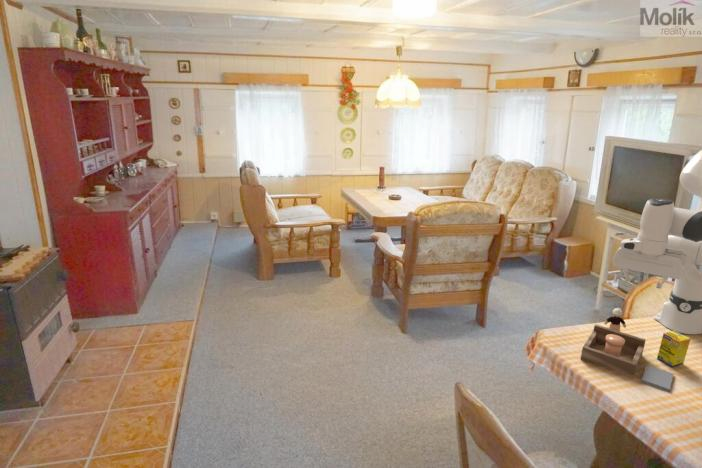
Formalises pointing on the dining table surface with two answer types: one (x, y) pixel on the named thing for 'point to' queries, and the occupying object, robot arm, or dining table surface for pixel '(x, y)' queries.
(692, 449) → the dining table surface
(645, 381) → the slate mat
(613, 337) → the peach drawer knob
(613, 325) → the grandmother figurine
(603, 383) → the dining table surface
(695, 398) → the dining table surface
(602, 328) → the frame
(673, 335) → the supplement box
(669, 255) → the robot arm
